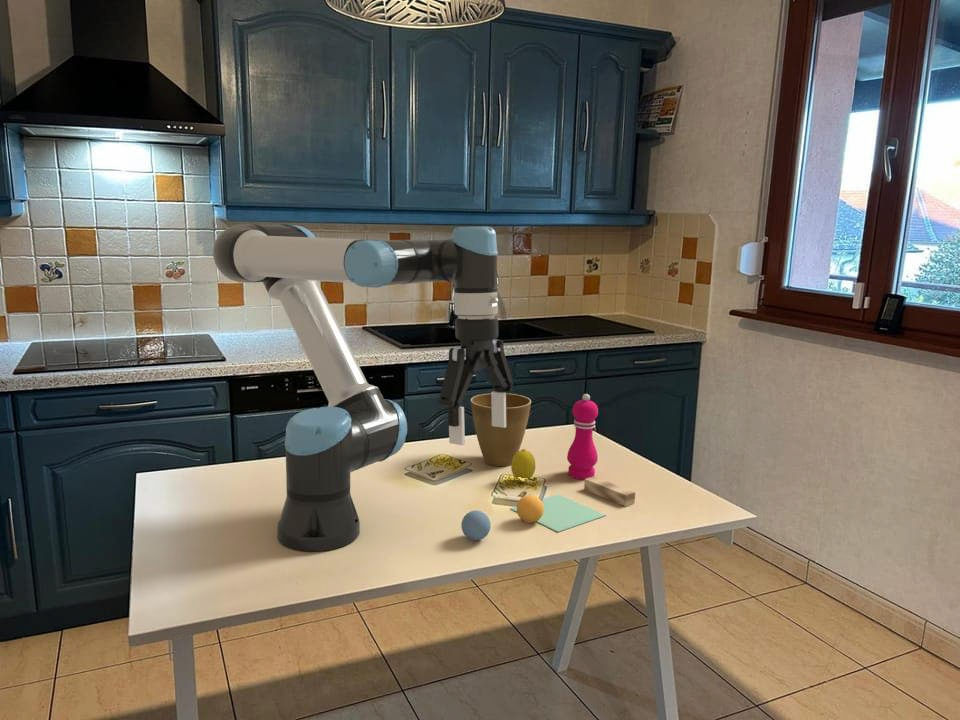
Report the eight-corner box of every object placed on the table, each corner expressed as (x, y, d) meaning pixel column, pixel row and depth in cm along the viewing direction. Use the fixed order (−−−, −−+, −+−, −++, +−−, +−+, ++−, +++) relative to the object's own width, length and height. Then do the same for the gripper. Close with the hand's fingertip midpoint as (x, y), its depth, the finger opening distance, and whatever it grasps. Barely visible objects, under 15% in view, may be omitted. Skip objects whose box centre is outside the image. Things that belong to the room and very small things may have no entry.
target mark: (557, 532, 141) (558, 531, 141) (510, 509, 152) (510, 508, 152) (605, 516, 150) (605, 515, 150) (557, 494, 161) (557, 494, 161)
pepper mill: (570, 468, 179) (575, 389, 175) (599, 472, 176) (604, 392, 172) (562, 477, 172) (567, 395, 168) (592, 482, 169) (598, 399, 166)
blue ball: (454, 538, 137) (455, 511, 136) (474, 530, 141) (475, 503, 140) (476, 548, 134) (477, 520, 132) (495, 538, 138) (497, 511, 137)
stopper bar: (634, 503, 157) (635, 492, 157) (625, 506, 156) (626, 495, 155) (593, 486, 167) (593, 476, 166) (584, 489, 165) (584, 478, 164)
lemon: (532, 487, 165) (534, 453, 163) (508, 484, 166) (510, 451, 164) (535, 479, 170) (537, 446, 169) (512, 476, 171) (514, 444, 170)
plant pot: (507, 449, 192) (510, 390, 188) (539, 466, 179) (543, 403, 176) (458, 456, 184) (459, 395, 181) (488, 475, 172) (490, 410, 168)
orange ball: (510, 521, 146) (511, 495, 145) (526, 513, 150) (528, 488, 149) (532, 529, 142) (533, 503, 141) (548, 521, 146) (550, 495, 145)
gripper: (452, 324, 114) (455, 455, 118) (530, 311, 135) (531, 422, 138) (415, 322, 118) (419, 448, 122) (496, 309, 139) (498, 417, 142)
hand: (479, 435), depth 130 cm, fingers open, 13 cm apart
